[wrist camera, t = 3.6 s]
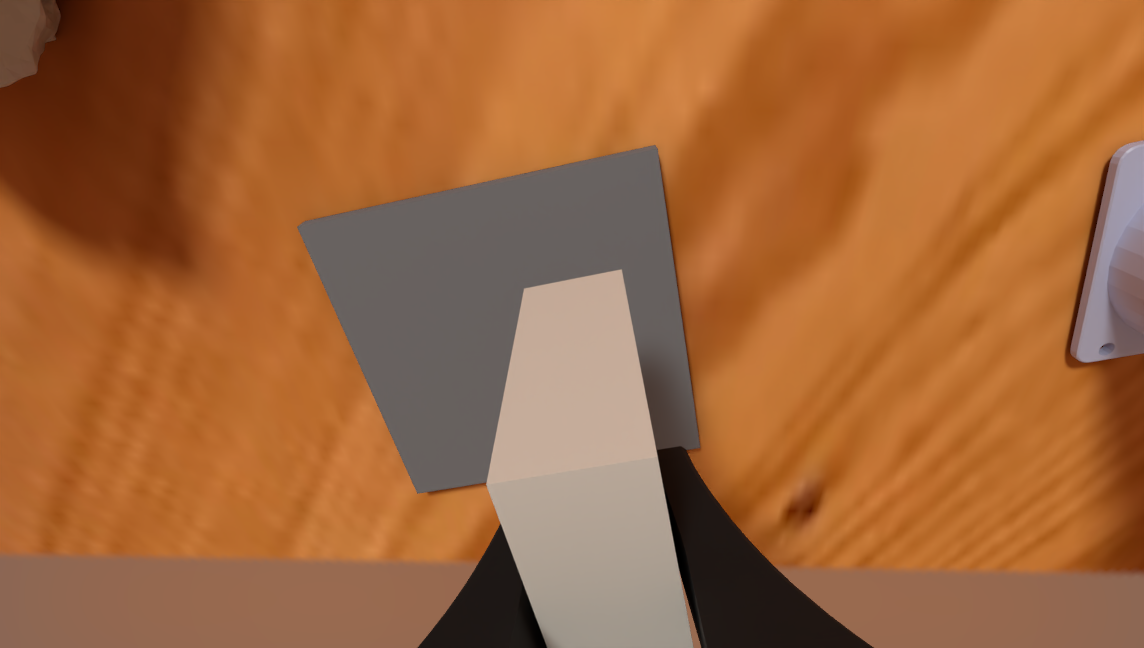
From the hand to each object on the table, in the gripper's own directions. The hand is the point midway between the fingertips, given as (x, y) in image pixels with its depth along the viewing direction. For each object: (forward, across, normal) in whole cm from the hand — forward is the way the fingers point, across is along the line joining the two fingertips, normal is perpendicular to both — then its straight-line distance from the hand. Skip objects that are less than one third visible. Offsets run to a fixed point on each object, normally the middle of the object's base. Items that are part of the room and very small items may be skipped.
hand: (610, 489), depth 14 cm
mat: (+8, +3, 0) cm, 9 cm away
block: (+3, 0, 0) cm, 3 cm away
